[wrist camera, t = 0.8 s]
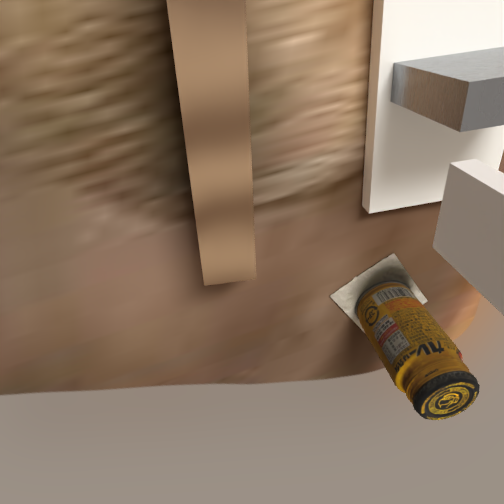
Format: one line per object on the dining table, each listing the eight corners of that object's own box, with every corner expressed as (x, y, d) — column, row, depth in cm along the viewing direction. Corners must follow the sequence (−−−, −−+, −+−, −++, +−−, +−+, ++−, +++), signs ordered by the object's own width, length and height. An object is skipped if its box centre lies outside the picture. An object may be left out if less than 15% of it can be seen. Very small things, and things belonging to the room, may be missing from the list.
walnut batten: (150, -133, 20) (144, -168, 16) (226, -133, 21) (238, -168, 17) (200, 250, 33) (204, 285, 29) (246, 245, 34) (256, 278, 30)
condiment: (368, 337, 42) (427, 438, 32) (329, 294, 38) (383, 397, 28) (426, 299, 41) (507, 394, 31) (392, 251, 36) (473, 343, 27)
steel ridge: (393, 62, 26) (469, 82, 19) (518, 44, 27) (632, 57, 20) (390, 101, 27) (459, 132, 21) (508, 83, 28) (612, 107, 21)
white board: (379, -105, 22) (392, -112, 21) (554, -125, 23) (576, -132, 22) (361, 205, 33) (369, 213, 32) (481, 184, 34) (492, 191, 33)
